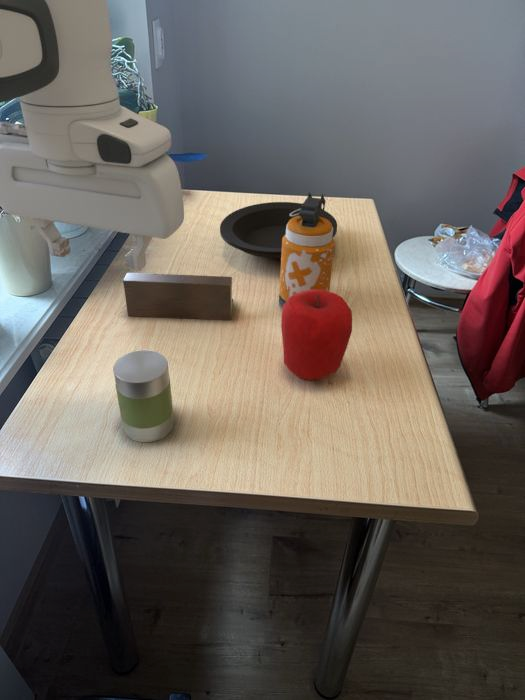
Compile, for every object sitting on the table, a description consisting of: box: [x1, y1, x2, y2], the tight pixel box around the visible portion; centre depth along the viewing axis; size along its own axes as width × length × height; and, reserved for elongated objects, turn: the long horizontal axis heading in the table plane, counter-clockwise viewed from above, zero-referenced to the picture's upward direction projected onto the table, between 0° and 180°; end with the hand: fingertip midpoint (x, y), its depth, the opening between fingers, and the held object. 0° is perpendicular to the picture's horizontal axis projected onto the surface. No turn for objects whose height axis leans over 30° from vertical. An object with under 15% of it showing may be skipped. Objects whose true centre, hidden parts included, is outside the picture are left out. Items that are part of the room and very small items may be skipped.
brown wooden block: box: [122, 272, 234, 321], centre depth 93 cm, size 18×6×7 cm, turn 88°
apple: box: [280, 289, 353, 381], centre depth 77 cm, size 10×10×14 cm
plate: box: [219, 201, 338, 260], centre depth 115 cm, size 28×24×6 cm
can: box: [112, 349, 174, 443], centre depth 68 cm, size 7×7×10 cm
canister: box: [278, 192, 336, 308], centre depth 92 cm, size 9×11×20 cm
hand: (98, 261), depth 59 cm, fingers open, 8 cm apart
